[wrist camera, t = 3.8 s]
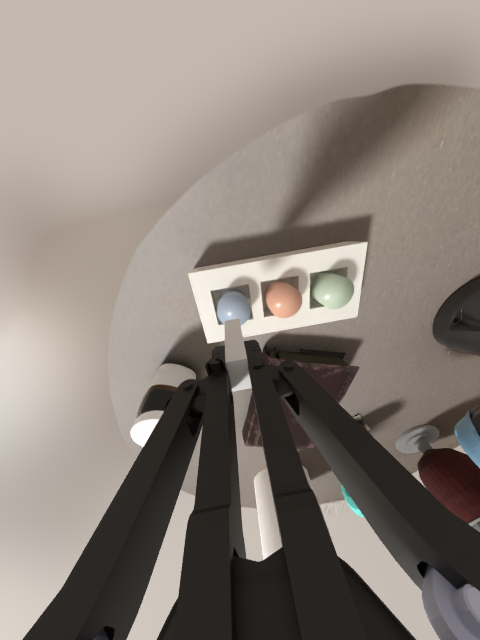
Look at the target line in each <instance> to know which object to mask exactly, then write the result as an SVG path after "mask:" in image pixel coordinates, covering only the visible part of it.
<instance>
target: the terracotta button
mask: <svg viewBox="0 0 480 640" xmlns="http://www.w3.org/2000/svg"><path fill="white" fill-rule="evenodd" d="M264 299H265V302H266V304H267V306H268V307H269V309H270V310H271V312H272V313H273V314H274V315H275V316H277V317H279V318H289V317H291V316H293V315H295V314H296V313H297V312H298V311H299V309H300V308H301V305H302V295H301V293H300V292H299V291H298V290H297V289H296V288H294V287H293V286H292V285H290V284H289V283H287V282H285V281H276V282H273V283H272V284H270V285H269V286H268V287H267V289H266V291H265V294H264Z"/></svg>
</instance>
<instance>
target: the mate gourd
mask: <svg viewBox="0 0 480 640" xmlns="http://www.w3.org/2000/svg"><path fill="white" fill-rule="evenodd" d="M439 435H440V431H439V430H438V429H437V428H436V427H435V426H433V425H421V426H417V427H414V428H412V429H410V430H408V431H406V432H404V433H403V434H402V435H401V436H400V437H399V438H398V439H397V441H396V443H395V446H396V448H397V449H398V450H399V451H400V452H402V453H414V452H418V451H421V452H423V453H424V454H423V456H422V457H421V459H420V460H419V462H418V470H419V475H420V478H421V480H422V482H423V484H424V485H425V487H426V488H427V490H428V491H429V492H430V493H431V494H432V495H433V496H434V497H435V498H436V499H437V500H438V501H439V502H440V503H441V504H443V505H444V506H445V507H446V508H447V509H448V510H449V511H450V512H452V513H453V514H454V515H456V516H457V517H459V518H460V519H462V520H463V521H464V522H466V523H467V524H469V525H470V526H471V527H473V528H474V529H476V530H477V531H479V532H480V468H479V467H478V466H477V465H476V464H475V463H474V462H473V461H472V459H471V458H470V457H469V456H468V455H467V454H464V453H461V452H459V451H456V450H453V449H450V448H442V449H432V447H431V445H432V444H433V443H434V442H435V441H436V440H437V439H438V437H439Z"/></svg>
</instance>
